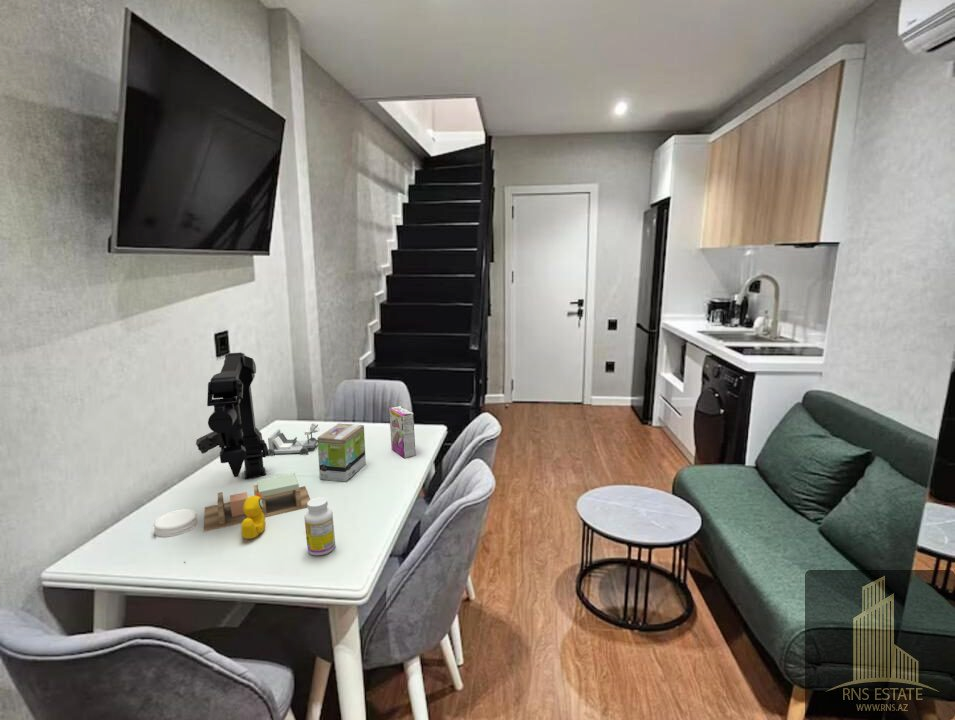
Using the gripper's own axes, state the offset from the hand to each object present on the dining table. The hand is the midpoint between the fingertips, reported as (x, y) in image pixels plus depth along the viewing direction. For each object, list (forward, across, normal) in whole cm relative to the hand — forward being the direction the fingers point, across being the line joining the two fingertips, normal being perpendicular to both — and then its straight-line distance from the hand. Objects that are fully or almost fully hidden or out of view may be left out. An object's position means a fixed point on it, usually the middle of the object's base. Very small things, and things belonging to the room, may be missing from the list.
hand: (236, 474), depth 140 cm
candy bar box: (+12, -20, +55) cm, 60 cm away
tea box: (+12, -14, +32) cm, 37 cm away
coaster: (+12, 0, -16) cm, 20 cm away
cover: (+6, 0, +10) cm, 12 cm away
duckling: (+12, +14, +3) cm, 19 cm away
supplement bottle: (+12, +30, +17) cm, 36 cm away
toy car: (+13, -44, +21) cm, 50 cm away
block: (+11, 0, 0) cm, 11 cm away
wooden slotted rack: (+12, 0, +5) cm, 13 cm away
